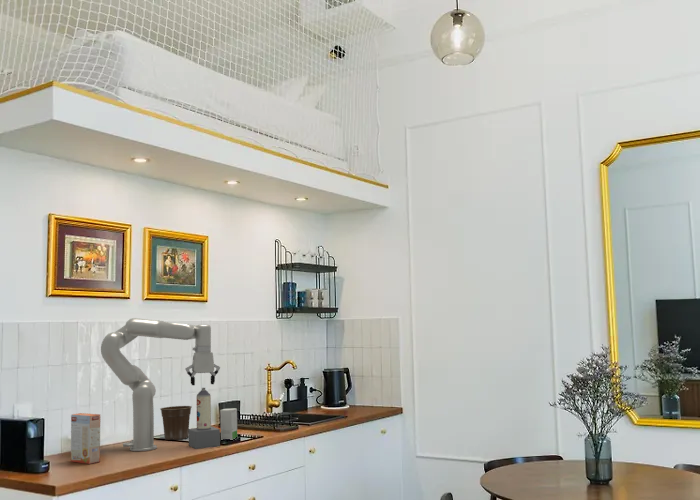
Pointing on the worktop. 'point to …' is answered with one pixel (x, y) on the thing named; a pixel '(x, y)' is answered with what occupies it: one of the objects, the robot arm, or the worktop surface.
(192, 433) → the stand
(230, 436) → the skincare box
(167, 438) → the plant pot
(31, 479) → the worktop surface
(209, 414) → the aerosol can
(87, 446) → the cracker box
